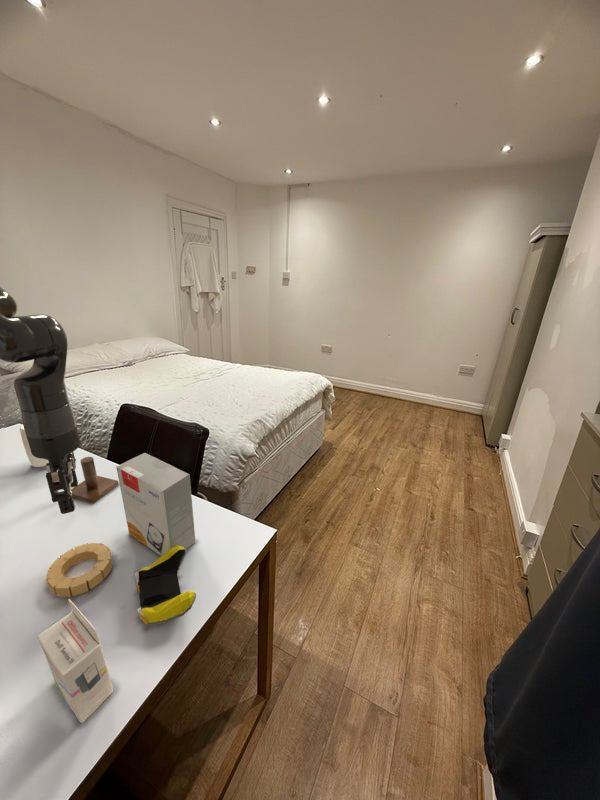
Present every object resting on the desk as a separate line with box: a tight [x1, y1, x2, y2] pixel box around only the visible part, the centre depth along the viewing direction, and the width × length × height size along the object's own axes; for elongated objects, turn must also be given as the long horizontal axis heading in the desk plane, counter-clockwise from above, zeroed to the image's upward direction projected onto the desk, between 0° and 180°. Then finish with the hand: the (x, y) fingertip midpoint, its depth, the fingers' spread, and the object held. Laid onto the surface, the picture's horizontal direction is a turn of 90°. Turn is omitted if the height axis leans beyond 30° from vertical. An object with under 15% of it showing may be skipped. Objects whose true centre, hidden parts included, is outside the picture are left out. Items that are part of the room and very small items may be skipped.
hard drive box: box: [115, 452, 196, 557], centre depth 74 cm, size 16×8×20 cm, turn 60°
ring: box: [45, 542, 113, 598], centre depth 68 cm, size 12×12×2 cm
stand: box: [71, 456, 120, 504], centre depth 91 cm, size 9×9×10 cm
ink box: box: [37, 598, 114, 724], centre depth 47 cm, size 9×5×15 cm, turn 56°
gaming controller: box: [134, 545, 197, 626], centre depth 64 cm, size 15×6×10 cm
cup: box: [19, 423, 49, 468], centre depth 101 cm, size 8×8×14 cm
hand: (70, 498), depth 65 cm, fingers open, 8 cm apart
